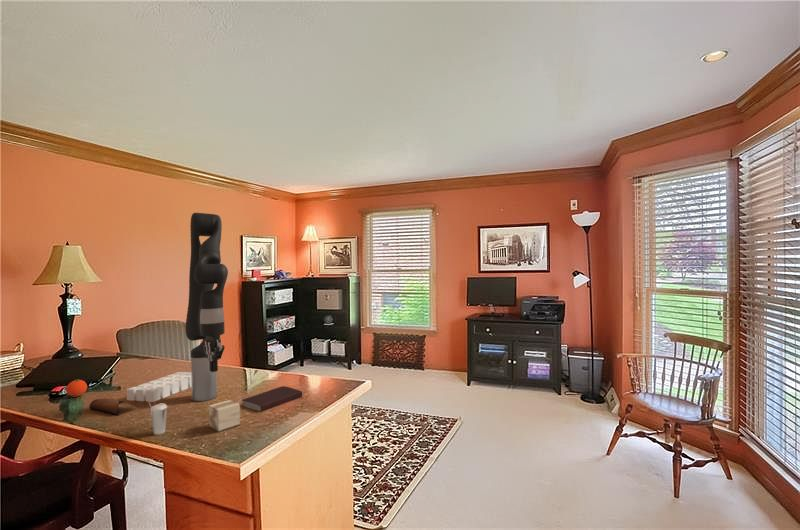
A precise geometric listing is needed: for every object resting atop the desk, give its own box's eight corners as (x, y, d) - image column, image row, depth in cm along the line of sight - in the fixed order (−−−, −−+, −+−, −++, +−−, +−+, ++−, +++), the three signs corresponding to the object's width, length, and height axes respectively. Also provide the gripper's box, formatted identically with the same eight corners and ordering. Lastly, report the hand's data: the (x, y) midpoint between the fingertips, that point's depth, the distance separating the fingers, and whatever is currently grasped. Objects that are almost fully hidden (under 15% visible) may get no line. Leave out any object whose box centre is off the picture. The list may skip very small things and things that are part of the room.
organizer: (126, 389, 158) (192, 367, 191) (126, 401, 157) (192, 377, 191) (152, 390, 154) (214, 368, 188) (152, 402, 154) (215, 378, 188)
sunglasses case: (140, 407, 147) (131, 395, 144) (124, 423, 142) (113, 410, 139) (113, 402, 155) (103, 390, 152) (96, 416, 149) (85, 404, 146)
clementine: (66, 395, 165) (66, 379, 165) (87, 392, 170) (87, 376, 170) (65, 400, 159) (65, 383, 159) (87, 396, 163) (86, 379, 163)
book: (302, 398, 155) (302, 390, 156) (261, 413, 140) (260, 404, 140) (282, 393, 163) (282, 385, 163) (241, 407, 147) (240, 398, 147)
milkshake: (153, 430, 126) (152, 399, 126) (170, 429, 126) (169, 398, 126) (145, 436, 121) (144, 404, 121) (163, 435, 122) (162, 403, 122)
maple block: (209, 426, 128) (209, 405, 128) (230, 420, 133) (229, 399, 133) (218, 432, 123) (218, 410, 123) (240, 425, 128) (239, 404, 128)
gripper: (232, 321, 132) (233, 371, 132) (215, 318, 141) (216, 366, 141) (209, 323, 126) (210, 376, 126) (193, 321, 135) (194, 370, 135)
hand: (213, 371), depth 133 cm, fingers closed
